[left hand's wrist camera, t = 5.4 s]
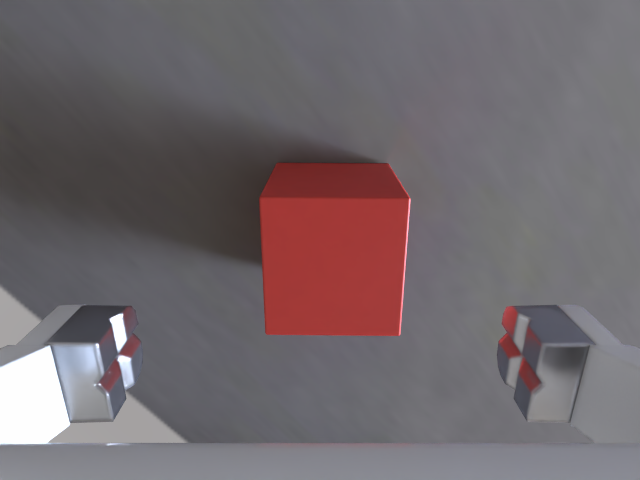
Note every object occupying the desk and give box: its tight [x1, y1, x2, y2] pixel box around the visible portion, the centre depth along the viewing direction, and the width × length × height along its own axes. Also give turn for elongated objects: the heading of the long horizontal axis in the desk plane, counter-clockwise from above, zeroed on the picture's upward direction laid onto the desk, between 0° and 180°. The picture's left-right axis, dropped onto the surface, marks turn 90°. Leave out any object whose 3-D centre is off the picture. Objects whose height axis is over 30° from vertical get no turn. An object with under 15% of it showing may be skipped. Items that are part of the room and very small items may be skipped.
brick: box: [259, 163, 410, 336], centre depth 16 cm, size 4×4×5 cm
